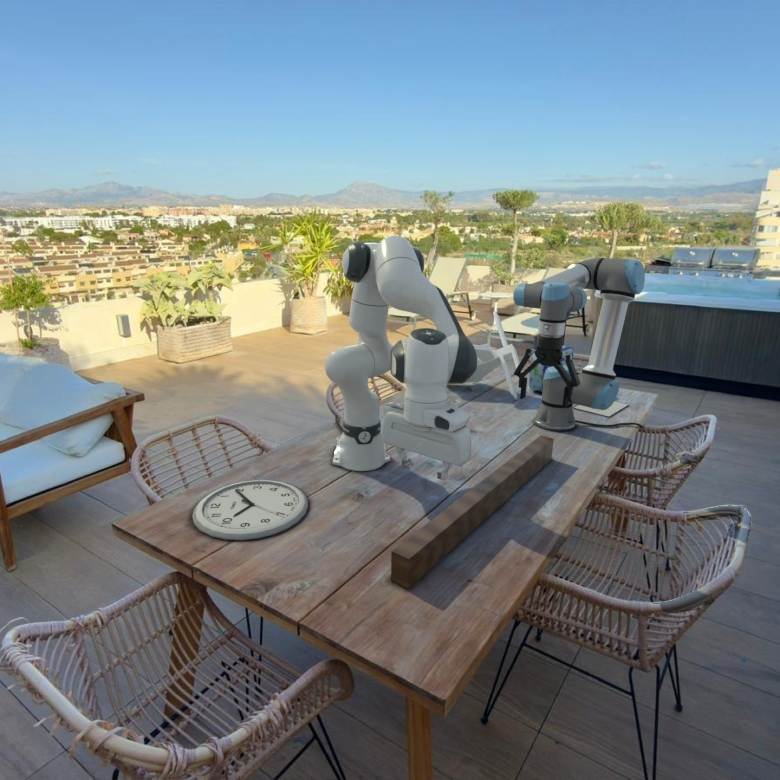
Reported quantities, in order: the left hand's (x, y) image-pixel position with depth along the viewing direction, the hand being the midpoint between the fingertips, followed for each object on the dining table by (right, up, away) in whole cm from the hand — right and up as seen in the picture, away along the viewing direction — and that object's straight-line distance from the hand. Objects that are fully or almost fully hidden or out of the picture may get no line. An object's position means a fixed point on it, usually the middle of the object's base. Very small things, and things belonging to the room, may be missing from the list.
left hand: (423, 472), depth 110 cm
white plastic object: (+35, +16, +133) cm, 139 cm away
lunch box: (+69, +18, +140) cm, 157 cm away
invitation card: (+85, +10, +116) cm, 144 cm away
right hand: (+41, +13, +53) cm, 69 cm away
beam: (+20, -15, +34) cm, 42 cm away
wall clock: (-44, -15, +30) cm, 56 cm away
